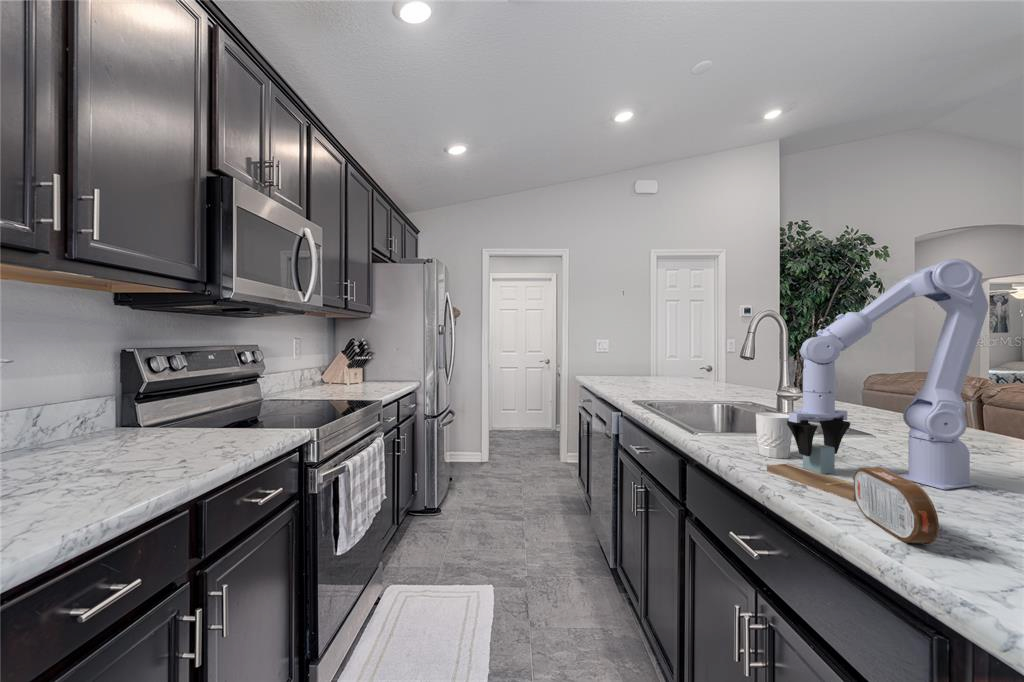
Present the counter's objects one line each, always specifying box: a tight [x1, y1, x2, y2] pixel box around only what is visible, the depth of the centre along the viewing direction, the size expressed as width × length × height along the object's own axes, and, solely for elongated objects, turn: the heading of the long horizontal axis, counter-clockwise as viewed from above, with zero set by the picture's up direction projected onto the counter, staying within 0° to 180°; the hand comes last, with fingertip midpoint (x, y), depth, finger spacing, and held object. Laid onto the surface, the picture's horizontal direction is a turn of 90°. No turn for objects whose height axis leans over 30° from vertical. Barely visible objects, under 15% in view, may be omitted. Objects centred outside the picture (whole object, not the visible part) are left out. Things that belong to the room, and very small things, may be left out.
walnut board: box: [766, 463, 856, 502], centre depth 85 cm, size 6×18×1 cm, turn 16°
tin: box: [852, 466, 940, 545], centre depth 64 cm, size 15×3×8 cm, turn 168°
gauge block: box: [802, 443, 836, 475], centre depth 93 cm, size 4×4×6 cm
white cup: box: [755, 412, 793, 459], centre depth 106 cm, size 8×8×10 cm
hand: (818, 454), depth 93 cm, fingers open, 7 cm apart
